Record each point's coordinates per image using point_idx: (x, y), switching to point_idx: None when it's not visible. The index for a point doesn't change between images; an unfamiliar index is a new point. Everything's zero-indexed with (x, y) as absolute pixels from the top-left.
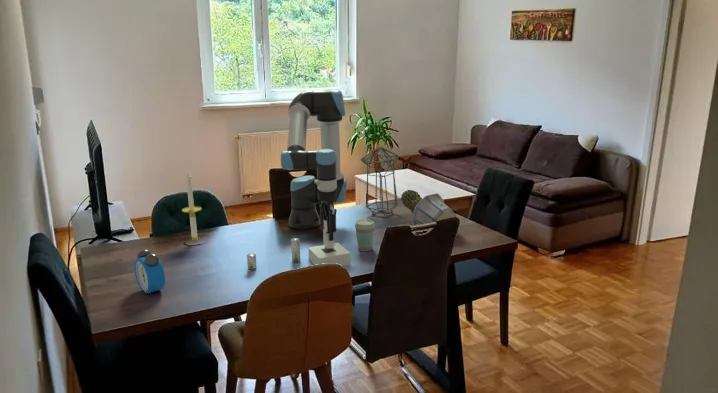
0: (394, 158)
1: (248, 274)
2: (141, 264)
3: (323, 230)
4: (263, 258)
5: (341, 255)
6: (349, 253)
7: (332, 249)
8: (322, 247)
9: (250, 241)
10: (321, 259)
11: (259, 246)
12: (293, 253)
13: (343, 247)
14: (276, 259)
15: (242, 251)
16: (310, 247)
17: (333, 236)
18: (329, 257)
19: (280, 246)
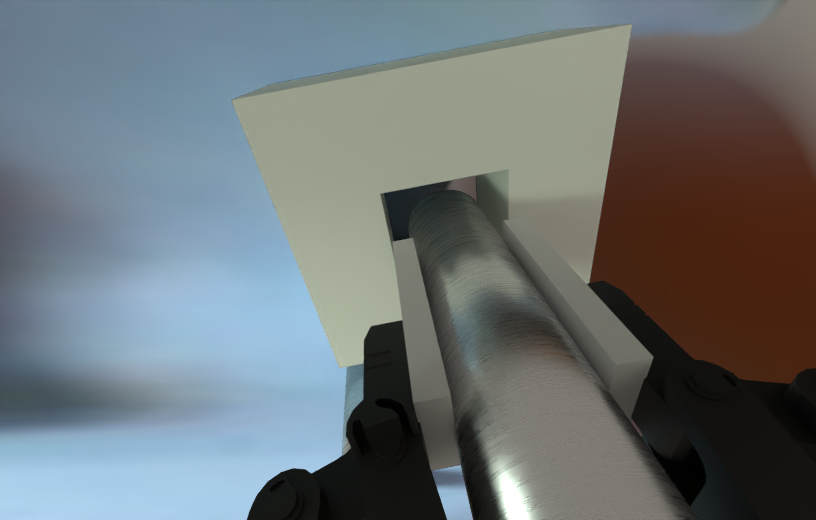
0: None
1: (451, 481)
2: None
3: (444, 454)
4: (296, 461)
5: (605, 139)
6: (627, 35)
7: (484, 216)
8: (361, 279)
9: (55, 509)
10: None
11: (128, 481)
12: None
13: (421, 66)
14: (318, 426)
15: (202, 514)
16: (340, 356)
17: (599, 303)
18: (590, 249)
19: (114, 419)
